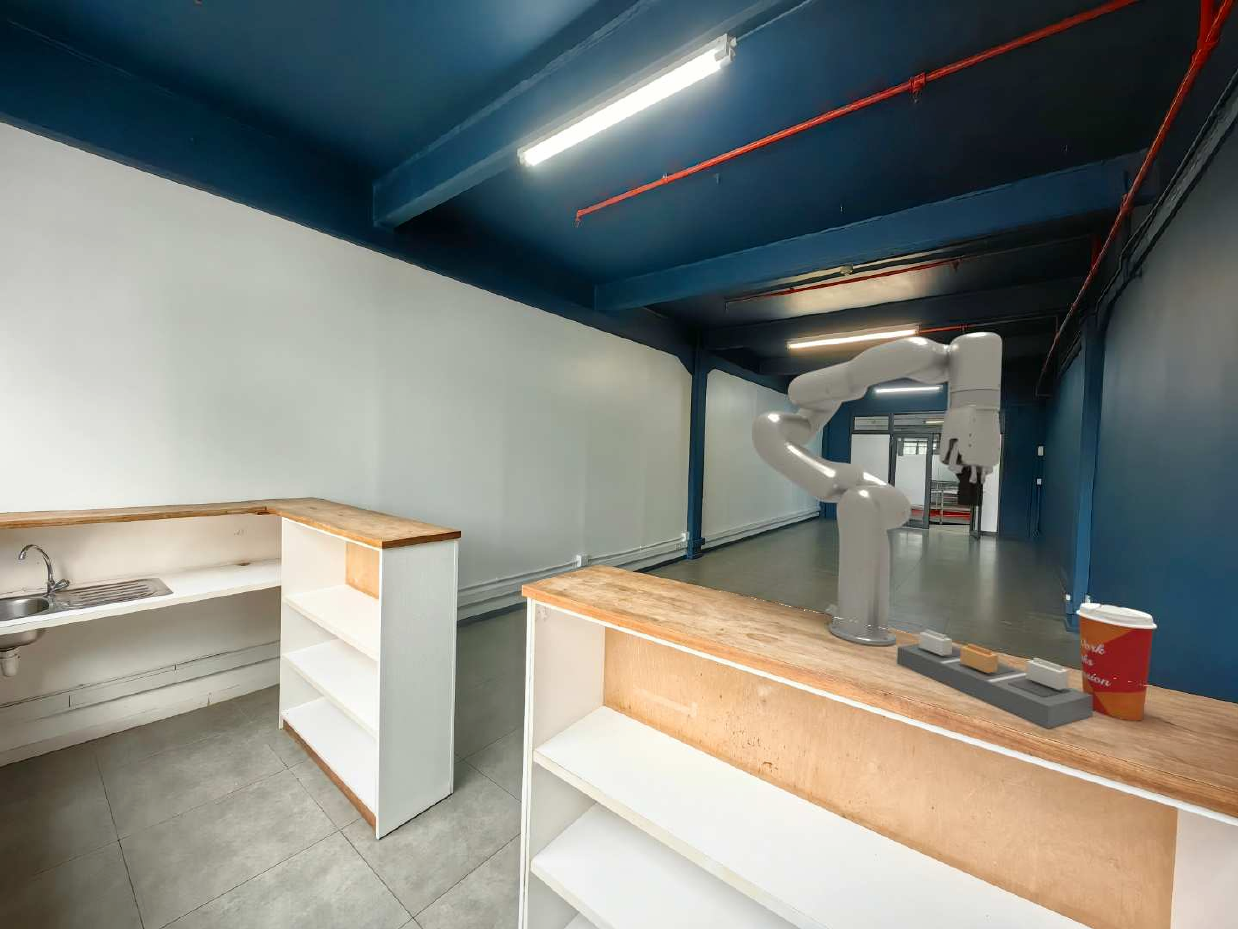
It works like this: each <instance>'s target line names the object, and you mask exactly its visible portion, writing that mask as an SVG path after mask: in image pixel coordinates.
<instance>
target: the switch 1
mask: <svg viewBox="0 0 1238 929" xmlns="http://www.w3.org/2000/svg"><path fill="white" fill-rule="evenodd" d="M918 635H919V636H918V637H919V639H918V644H919V647H921V648H923V649H926V650H929V651H931V652H934V653H936V654H939V655H942V656H943V655H949V654H952V646H953V639H952V638H948V637H947V635H945V634H943V633H939V632H936V631H934V630H931V629H925V631H923V632H919V634H918Z"/></svg>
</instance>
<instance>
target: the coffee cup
mask: <svg viewBox="0 0 1238 929" xmlns="http://www.w3.org/2000/svg"><path fill="white" fill-rule="evenodd" d="M1075 613H1076V614H1077V615H1078V617H1079V618H1078V620H1079V622H1078V623H1079V639H1080V640H1079V642H1080V661H1081V680H1082V692H1085V693H1087V694H1090V695H1093V708H1092V711H1095V712H1097V711H1098V712H1097V713H1099V712H1100V713H1099V714H1102V715H1105V716H1108V717H1111V718H1115V719H1118V718H1122V719H1121V720H1123V719H1125V720H1124V721H1128V720H1129V721H1130V722H1131V721H1132V722H1140V721H1142V720H1143V717H1144V716H1143V715H1144V712H1145V711H1144V710H1145V705H1146V704H1145V703H1146V696H1147V695H1146V694H1147V687H1148V686H1143V685H1148V678H1149V668H1150V662H1151V653H1152V652H1151V650H1152V642H1153V633H1154V629H1157V628H1158V626H1157V624H1155V623H1154V619H1153V616H1152V615H1151V614H1149V613H1146V612H1144V611H1140V610H1138V609H1137V610H1136V609H1131V608H1127V607H1123V606H1122V607H1120V606H1119V607H1118V606H1116V605H1111V604H1110V605H1109V604H1101V603H1093V602H1084V603H1080V606H1079V609H1078V610H1076V611H1075ZM1094 674H1096V675H1094ZM1114 678H1116V679H1114ZM1128 681H1131V682H1128ZM1140 684H1141V685H1140ZM1129 721H1128V722H1129Z"/></svg>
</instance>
